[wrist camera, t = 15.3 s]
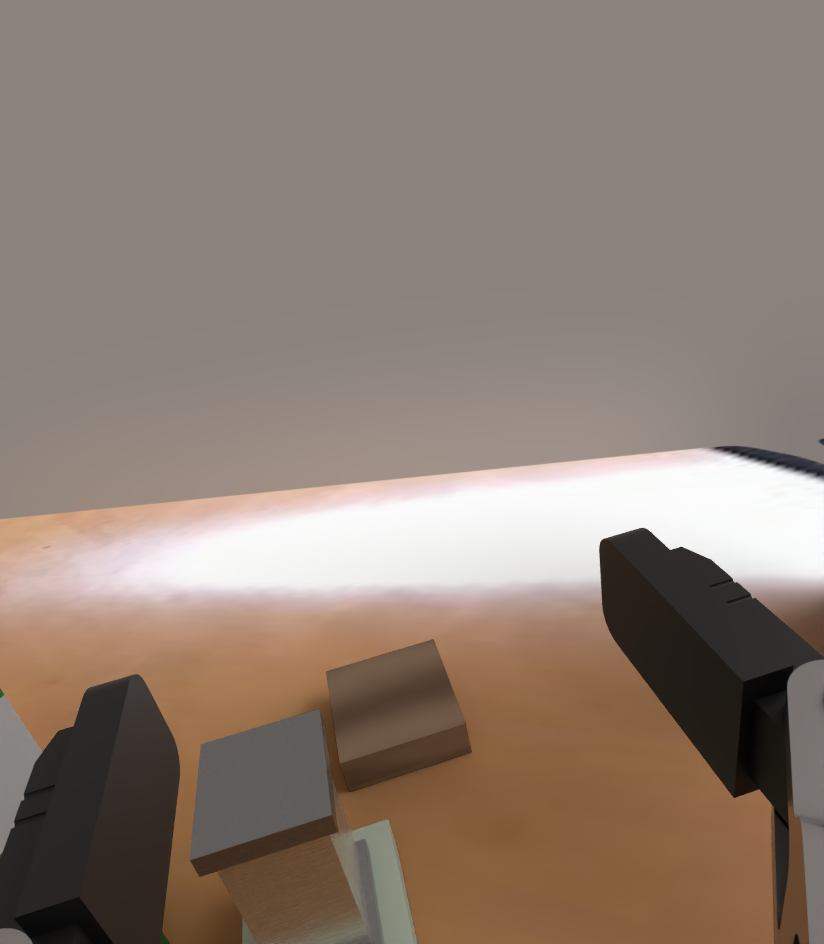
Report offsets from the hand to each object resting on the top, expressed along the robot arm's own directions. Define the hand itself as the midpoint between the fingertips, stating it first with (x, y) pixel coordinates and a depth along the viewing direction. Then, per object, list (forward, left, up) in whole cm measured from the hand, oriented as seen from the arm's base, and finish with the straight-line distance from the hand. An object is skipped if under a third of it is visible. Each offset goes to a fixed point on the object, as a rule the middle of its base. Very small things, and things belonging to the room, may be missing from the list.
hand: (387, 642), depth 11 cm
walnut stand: (-21, -18, -32) cm, 42 cm away
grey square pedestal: (-6, -14, -29) cm, 33 cm away
